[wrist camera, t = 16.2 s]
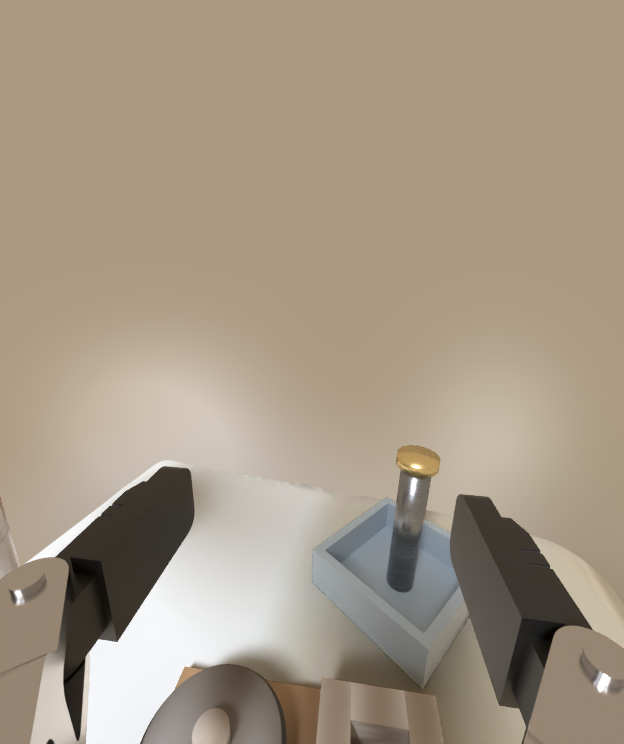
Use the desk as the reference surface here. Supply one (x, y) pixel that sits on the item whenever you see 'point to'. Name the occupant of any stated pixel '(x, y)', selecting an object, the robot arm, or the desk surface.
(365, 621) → the pin tray
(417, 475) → the lock pin
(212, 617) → the desk surface
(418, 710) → the board
